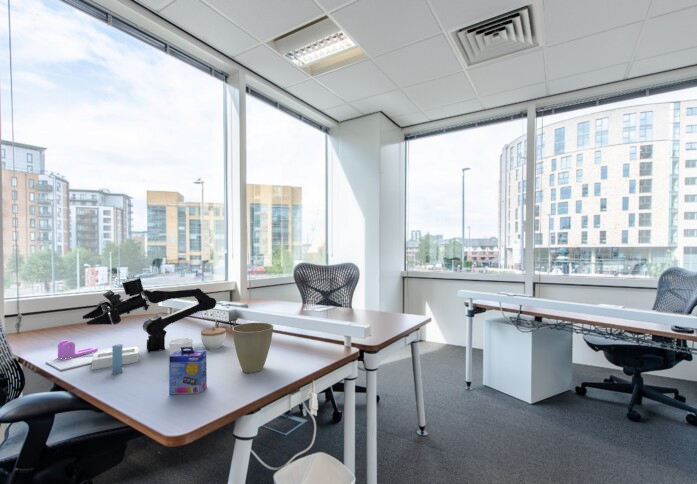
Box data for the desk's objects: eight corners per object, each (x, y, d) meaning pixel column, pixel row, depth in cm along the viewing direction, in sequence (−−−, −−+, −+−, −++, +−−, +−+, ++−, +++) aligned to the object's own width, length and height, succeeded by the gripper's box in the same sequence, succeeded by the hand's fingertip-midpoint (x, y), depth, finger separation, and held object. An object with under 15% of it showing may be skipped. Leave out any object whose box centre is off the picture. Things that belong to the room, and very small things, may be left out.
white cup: (196, 364, 126) (196, 339, 126) (180, 371, 119) (180, 344, 119) (181, 362, 129) (181, 337, 129) (164, 369, 121) (164, 342, 121)
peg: (122, 370, 120) (122, 343, 120) (122, 373, 118) (122, 345, 118) (112, 372, 118) (112, 345, 119) (112, 375, 116) (112, 347, 116)
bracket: (63, 360, 133) (64, 343, 133) (57, 358, 135) (58, 341, 135) (100, 351, 144) (100, 335, 144) (93, 349, 147) (94, 334, 147)
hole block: (138, 354, 139) (138, 346, 139) (139, 361, 130) (139, 352, 130) (94, 361, 130) (94, 352, 130) (91, 369, 121) (91, 360, 121)
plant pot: (235, 380, 111) (235, 333, 111) (229, 366, 124) (229, 325, 124) (278, 372, 117) (278, 328, 118) (268, 360, 131) (268, 320, 131)
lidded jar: (227, 343, 155) (227, 323, 155) (224, 350, 144) (224, 329, 145) (203, 344, 153) (204, 325, 153) (198, 351, 142) (198, 330, 142)
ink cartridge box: (167, 395, 99) (168, 348, 100) (175, 388, 105) (176, 343, 105) (200, 394, 100) (201, 347, 101) (207, 386, 106) (207, 342, 106)
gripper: (118, 283, 143) (74, 297, 132) (129, 291, 130) (81, 307, 120) (125, 306, 146) (83, 321, 135) (137, 316, 133) (91, 333, 122)
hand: (84, 320), depth 128 cm, fingers open, 9 cm apart
